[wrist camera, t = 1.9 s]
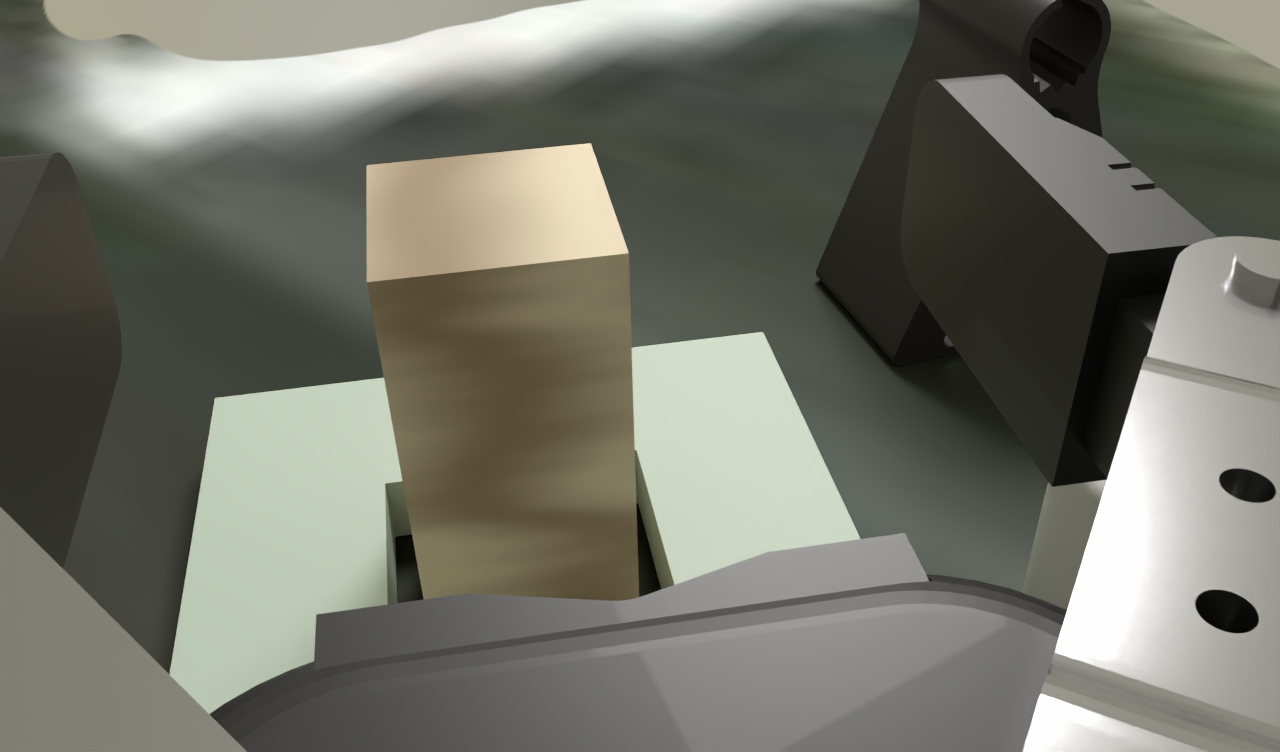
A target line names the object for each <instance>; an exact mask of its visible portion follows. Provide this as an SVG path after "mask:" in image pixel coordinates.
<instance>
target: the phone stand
mask: <svg viewBox="0 0 1280 752" xmlns="http://www.w3.org/2000/svg"><path fill="white" fill-rule="evenodd" d="M919 1H920V10H919V20H918V26H917V30H916V34H915V38H914V41H913V43H912V46H911V48H910V51H909V53H908V56H907V58H906V60H905V63H904V65H903V67H902V70H901V72H900V74H899V77H898V79H897V81H896V84H895V86H894V89H893V91H892V93H891V96H890V98H889V100H888V103H887V105H886V107H885V110H884V112H883V114H882V117H881V119H880V122H879V124H878V126H877V129H876V131H875V133H874V136H873V138H872V140H871V143H870V145H869V147H868V150H867V152H866V155H865V157H864V159H863V162H862V164H861V166H860V169H859V171H858V173H857V176H856V178H855V180H854V183H853V185H852V188H851V190H850V192H849V195H848V197H847V199H846V202H845V204H844V206H843V209H842V211H841V213H840V216H839V218H838V221H837V223H836V225H835V228H834V230H833V232H832V235H831V237H830V239H829V242H828V244H827V246H826V249H825V251H824V254H823V256H822V258H821V261H820V263H819V265H818V268H817V270H816V275H817V277H818V278H819V279H820V280H821V281H822V282H823V284H824V285H825V286H826V287H827V288H828V289H829V290H830V292H831V293H832V294H833V295H834V296H835V297H836V298H837V300H838V301H839V302H840V303H841V304H842V305H843V306H844V307H845V309H846V310H847V311H848V312H849V313H850V314H851V315H852V317H853V318H854V319H855V320H856V321H857V322H858V323H859V325H860V326H861V327H862V328H863V329H864V330H865V331H866V333H867V334H868V335H869V336H870V337H871V338H872V339H873V341H874V342H875V343H876V344H877V345H878V346H879V347H880V348H881V350H882V351H883V352H884V353H885V354H886V355H887V356H888V358H889V359H890V360H891V361H892V362H893V363H894V364H895V365H896V366H898V367H901V366H905V365H910V364H914V363H919V362H923V361H927V360H932V359H936V358H941V357H945V356H950V355H954V354H958V351H957V350H956V348H955V347H954V345H953V344H952V342H951V341H950V340H949V338H948V337H947V335H946V334H945V332H944V331H943V330H942V328H941V327H940V325H939V324H938V322H937V321H936V319H935V318H934V317H933V315H932V314H931V312H930V311H929V309H928V308H927V307H926V305H925V304H924V302H923V301H922V299H921V298H920V296H919V295H918V294H917V292H916V291H915V289H914V288H913V286H912V285H911V283H910V281H909V279H908V276H907V273H906V270H905V267H904V263H903V257H902V250H901V220H902V212H903V204H904V196H905V188H906V180H907V173H908V165H909V157H910V149H911V141H912V133H913V125H914V117H915V110H916V104H917V100H918V97H919V94H920V91H921V90H922V88H923V86H924V85H925V84H926V83H927V82H928V81H930V80H938V79H949V78H961V77H973V76H985V75H997V74H1004V75H1007V76H1008V77H1010V78H1011V79H1012V80H1013V81H1014V82H1015V83H1016V84H1017V85H1019V86H1020V87H1021V88H1022V89H1023V90H1024V91H1025V92H1026V93H1028V94H1029V95H1030V96H1031V97H1032V98H1033V99H1034V100H1035V101H1036V102H1038V103H1039V104H1040V105H1041V106H1042V107H1043V108H1044V109H1045V110H1047V111H1048V112H1049V113H1050V114H1051V115H1052V116H1053V117H1054V118H1059V119H1061V120H1063V121H1066V122H1068V123H1070V124H1072V125H1075V126H1077V127H1079V128H1081V129H1084V130H1086V131H1088V132H1090V133H1093V134H1095V135H1097V136H1099V137H1102V129H1101V121H1100V113H1099V105H1098V92H1097V90H1098V78H1099V72H1100V67H1101V63H1102V59H1103V56H1104V53H1105V50H1106V48H1107V45H1108V42H1109V38H1110V32H1111V20H1110V14H1109V11H1108V9H1107V7H1106V5H1105V4H1104V2H1103V1H1102V0H919Z"/></svg>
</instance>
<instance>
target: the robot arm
mask: <svg viewBox="0 0 1280 752" xmlns="http://www.w3.org/2000/svg"><path fill="white" fill-rule="evenodd" d="M901 250H902V257H903V263H904V267H905V270H906V273H907V276H908V279H909V281H910V283H911V285H912V286H913V288H914V289H915V291H916V292H917V294H918V295H919V296H920V298H921V299H922V301H923V302H924V304H925V305H926V307H927V308H928V309H929V311H930V312H931V314H932V315H933V317H934V318H935V319H936V321H937V322H938V324H939V325H940V327H941V328H942V330H943V331H944V332H945V334H946V335H947V337H948V338H949V340H950V341H951V342H952V344H953V345H954V347H955V348H956V350H957V351H958V353H959V354H960V355H961V357H962V358H963V360H964V361H965V363H966V364H967V365H968V367H969V368H970V370H971V371H972V373H973V374H974V376H975V377H976V378H977V380H978V381H979V383H980V384H981V386H982V387H983V388H984V390H985V391H986V393H987V394H988V396H989V397H990V399H991V400H992V401H993V403H994V404H995V406H996V407H997V409H998V410H999V411H1000V413H1001V414H1002V416H1003V417H1004V419H1005V420H1006V422H1007V423H1008V424H1009V426H1010V427H1011V429H1012V430H1013V432H1014V433H1015V434H1016V436H1017V437H1018V439H1019V440H1020V442H1021V443H1022V445H1023V446H1024V447H1025V449H1026V450H1027V452H1028V453H1029V455H1030V456H1031V457H1032V459H1033V460H1034V462H1035V463H1036V465H1037V466H1038V467H1039V469H1040V470H1041V472H1042V473H1043V475H1044V476H1045V478H1046V479H1047V480H1048V482H1049V483H1050V485H1051V486H1052V487H1056V486H1064V485H1071V484H1078V483H1086V482H1093V481H1101V480H1107V482H1106V485H1105V488H1104V491H1103V495H1102V498H1101V501H1100V505H1099V508H1098V511H1097V514H1096V518H1095V521H1094V524H1093V527H1092V531H1091V534H1090V537H1089V541H1088V544H1087V547H1086V550H1085V554H1084V557H1083V560H1082V564H1081V567H1080V570H1079V573H1078V577H1077V580H1076V583H1075V586H1074V590H1073V593H1072V596H1071V600H1070V603H1069V606H1068V609H1067V610H1066V609H1064V608H1061V607H1059V606H1057V605H1054V604H1052V603H1050V602H1047V601H1045V600H1043V599H1040V598H1036V597H1033V596H1030V595H1027V594H1024V593H1021V592H1018V591H1015V590H1012V589H1009V588H1005V587H1001V586H997V585H992V584H988V583H984V582H980V581H975V580H969V579H962V578H955V577H948V576H940V575H926V573H925V571H924V569H923V567H922V566H921V564H920V562H919V560H918V558H917V556H916V554H915V552H914V550H913V548H912V546H911V544H910V542H909V541H908V539H907V537H906V535H905V533H902V534H895V535H888V536H880V537H873V538H866V539H859V540H851V541H844V542H837V543H830V544H823V545H815V546H808V547H801V548H794V549H786V550H779V551H772V552H766V553H763V554H761V555H758V556H755V557H752V558H749V559H746V560H744V561H741V562H738V563H735V564H732V565H729V566H727V567H724V568H721V569H718V570H715V571H712V572H710V573H707V574H704V575H701V576H698V577H696V578H693V579H690V580H687V581H684V582H681V583H679V584H676V585H673V586H670V587H667V588H664V589H662V590H659V591H656V592H653V593H650V594H647V595H645V596H642V597H638V598H634V599H629V600H622V601H605V600H586V599H566V598H547V597H527V596H508V595H488V594H469V593H468V594H461V595H453V596H446V597H439V598H432V599H424V600H417V601H410V602H403V603H395V604H388V605H381V606H374V607H367V608H359V609H352V610H345V611H338V612H330V613H323V614H316V630H315V652H314V661H313V662H310V663H308V664H305V665H302V666H299V667H297V668H294V669H291V670H289V671H287V672H284V673H282V674H280V675H278V676H276V677H274V678H271V679H269V680H267V681H265V682H263V683H260V684H258V685H256V686H254V687H253V688H251V689H249V690H247V691H246V692H244V693H242V694H240V695H239V696H237V697H235V698H233V699H232V700H230V701H228V702H226V703H225V704H223V705H222V706H220V707H219V708H217V709H216V710H215V711H213V712H212V713H210V714H208V713H207V712H206V711H205V710H204V709H203V708H202V707H201V706H200V705H199V704H198V703H197V702H196V701H195V700H194V699H193V698H192V697H191V696H190V695H189V694H188V693H187V692H186V691H185V690H184V689H183V688H182V687H181V686H180V685H179V684H178V683H177V682H176V681H175V680H174V679H173V678H172V677H171V676H170V675H169V674H168V673H167V672H166V671H165V670H164V669H163V668H162V667H161V666H160V665H159V664H158V663H157V662H156V661H155V660H154V659H153V658H152V657H151V656H150V655H149V654H148V653H147V652H146V651H145V650H144V649H143V648H142V647H141V646H140V645H139V644H138V643H137V642H136V641H135V640H134V639H133V638H132V637H131V636H130V635H129V634H128V633H127V632H126V631H125V630H124V629H123V628H122V627H121V626H120V625H119V624H118V623H117V622H116V621H115V620H114V619H113V618H112V617H111V616H110V615H109V614H108V613H107V612H106V611H105V610H104V609H103V608H102V607H101V606H100V605H99V604H98V603H97V602H96V601H95V600H94V599H93V598H92V597H91V596H90V595H89V594H88V593H87V592H86V591H85V590H84V589H83V588H82V587H81V586H80V585H79V584H78V583H77V582H76V581H75V580H74V579H73V578H72V577H71V576H70V575H69V574H68V573H67V572H66V571H64V570H63V567H64V563H65V560H66V556H67V553H68V549H69V546H70V542H71V539H72V535H73V532H74V528H75V525H76V521H77V518H78V514H79V511H80V507H81V504H82V500H83V497H84V493H85V490H86V486H87V483H88V479H89V476H90V472H91V469H92V465H93V462H94V458H95V455H96V451H97V448H98V444H99V441H100V437H101V434H102V430H103V427H104V423H105V420H106V416H107V413H108V409H109V406H110V402H111V399H112V395H113V392H114V388H115V385H116V381H117V378H118V374H119V370H120V365H121V353H122V346H121V331H120V324H119V318H118V313H117V308H116V304H115V301H114V297H113V294H112V291H111V288H110V284H109V281H108V278H107V275H106V272H105V268H104V265H103V262H102V259H101V255H100V252H99V249H98V246H97V242H96V239H95V236H94V233H93V230H92V226H91V223H90V220H89V217H88V213H87V210H86V207H85V204H84V200H83V197H82V194H81V191H80V188H79V184H78V181H77V179H76V176H75V173H74V171H73V169H72V167H71V165H70V163H69V162H68V160H67V159H66V158H65V157H64V156H63V155H62V154H61V153H47V154H35V155H24V156H12V157H0V752H1280V241H1276V240H1270V239H1264V238H1255V237H1219V238H1217V237H1216V236H1215V235H1214V234H1213V233H1212V232H1210V231H1209V230H1208V229H1207V228H1206V227H1205V226H1204V225H1202V224H1201V223H1200V222H1199V221H1198V220H1197V219H1195V218H1194V217H1193V216H1192V215H1191V214H1190V213H1188V212H1187V211H1186V210H1185V209H1184V208H1183V207H1182V206H1180V205H1179V204H1178V203H1177V202H1176V201H1175V200H1173V199H1172V198H1171V197H1170V196H1169V195H1168V194H1167V193H1165V192H1164V191H1163V190H1162V189H1161V188H1158V189H1155V188H1154V182H1153V181H1151V180H1150V179H1149V178H1148V177H1147V176H1146V175H1145V174H1143V173H1142V172H1141V171H1140V170H1139V169H1138V168H1131V162H1129V161H1128V160H1127V159H1126V158H1125V157H1124V156H1123V155H1121V154H1120V153H1119V152H1118V151H1117V150H1116V149H1114V148H1113V147H1112V146H1111V145H1110V144H1109V143H1108V142H1106V141H1105V140H1104V139H1103V138H1102V137H1099V136H1097V135H1095V134H1093V133H1090V132H1088V131H1086V130H1084V129H1081V128H1079V127H1077V126H1075V125H1072V124H1070V123H1068V122H1066V121H1063V120H1061V119H1059V118H1054V117H1053V116H1052V115H1051V114H1050V113H1049V112H1048V111H1047V110H1045V109H1044V108H1043V107H1042V106H1041V105H1040V104H1039V103H1038V102H1036V101H1035V100H1034V99H1033V98H1032V97H1031V96H1030V95H1029V94H1028V93H1026V92H1025V91H1024V90H1023V89H1022V88H1021V87H1020V86H1019V85H1017V84H1016V83H1015V82H1014V81H1013V80H1012V79H1011V78H1010V77H1008V76H1007V75H1004V74H997V75H985V76H973V77H961V78H949V79H938V80H930V81H928V82H927V83H926V84H925V85H924V86H923V88H922V90H921V91H920V94H919V97H918V100H917V104H916V110H915V117H914V125H913V133H912V141H911V149H910V157H909V165H908V173H907V180H906V188H905V196H904V204H903V212H902V220H901Z"/></svg>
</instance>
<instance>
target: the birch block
mask: <svg viewBox="0 0 1280 752" xmlns="http://www.w3.org/2000/svg"><path fill="white" fill-rule="evenodd" d="M367 286H368V291H369V297H370V302H371V308H372V314H373V319H374V325H375V330H376V336H377V342H378V347H379V353H380V358H381V364H382V369H383V375H384V381H385V386H386V392H387V397H388V403H389V409H390V414H391V420H392V425H393V431H394V437H395V442H396V448H397V453H398V459H399V465H400V470H401V476H402V481H403V487H404V493H405V498H406V504H407V509H408V515H409V520H410V526H411V532H412V537H413V543H414V548H415V554H416V560H417V565H418V571H419V576H420V582H421V588H422V593H423V599H432V598H439V597H446V596H453V595H461V594H468V593H469V594H488V595H508V596H527V597H547V598H566V599H586V600H605V601H622V600H629V599H634V598H638V597H639V574H638V541H637V508H636V476H635V443H634V411H633V378H632V345H631V313H630V280H629V253H628V250H627V247H626V244H625V241H624V238H623V235H622V232H621V230H620V227H619V224H618V221H617V218H616V215H615V212H614V209H613V206H612V203H611V201H610V198H609V195H608V192H607V189H606V186H605V183H604V180H603V177H602V174H601V172H600V169H599V166H598V163H597V160H596V157H595V154H594V151H593V148H592V145H591V143H589V144H579V145H568V146H558V147H548V148H538V149H528V150H518V151H507V152H497V153H487V154H477V155H467V156H456V157H446V158H436V159H426V160H416V161H405V162H395V163H385V164H375V165H367Z"/></svg>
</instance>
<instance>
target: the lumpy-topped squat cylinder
mask: <svg viewBox="0 0 1280 752" xmlns="http://www.w3.org/2000/svg"><path fill="white" fill-rule="evenodd" d="M1106 482H1107V480H1101V481H1093V482H1086V483H1078V484H1071V485H1064V486H1056V487H1052V486H1051V485H1050V483H1049V482H1048V486H1047V489H1046V493H1045V497H1044V501H1043V505H1042V509H1041V513H1040V517H1039V522H1038V526H1037V530H1036V534H1035V539H1034V543H1033V547H1032V552H1031V556H1030V560H1029V565H1028V569H1027V573H1026V578H1025V582H1024V586H1023V591H1022V593H1024V594H1027V595H1030V596H1033V597H1036V598H1040V599H1043V600H1045V601H1047V602H1050V603H1052V604H1054V605H1057V606H1059V607H1061V608H1064V609H1066V610H1067V609H1068V606H1069V603H1070V600H1071V596H1072V593H1073V590H1074V586H1075V583H1076V580H1077V577H1078V573H1079V570H1080V567H1081V564H1082V560H1083V557H1084V554H1085V550H1086V547H1087V544H1088V541H1089V537H1090V534H1091V531H1092V527H1093V524H1094V521H1095V518H1096V514H1097V511H1098V508H1099V505H1100V501H1101V498H1102V495H1103V491H1104V488H1105V485H1106Z"/></svg>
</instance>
